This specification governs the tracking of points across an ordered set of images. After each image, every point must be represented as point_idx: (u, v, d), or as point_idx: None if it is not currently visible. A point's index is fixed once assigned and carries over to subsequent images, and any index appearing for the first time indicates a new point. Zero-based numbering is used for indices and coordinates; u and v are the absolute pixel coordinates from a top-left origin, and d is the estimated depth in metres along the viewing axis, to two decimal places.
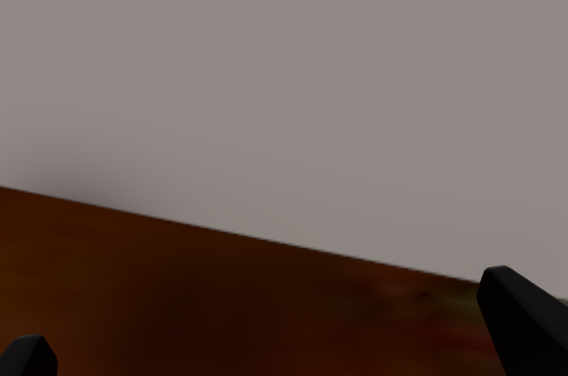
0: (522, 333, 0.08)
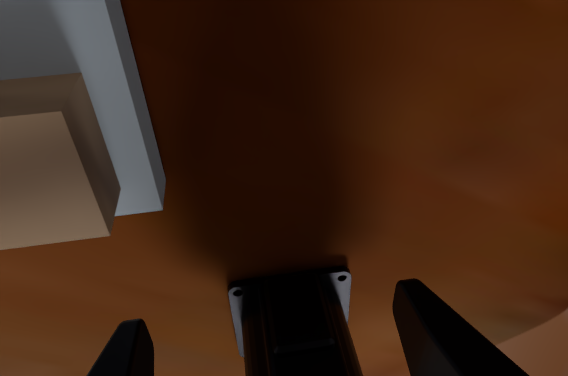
0: (423, 349, 0.08)
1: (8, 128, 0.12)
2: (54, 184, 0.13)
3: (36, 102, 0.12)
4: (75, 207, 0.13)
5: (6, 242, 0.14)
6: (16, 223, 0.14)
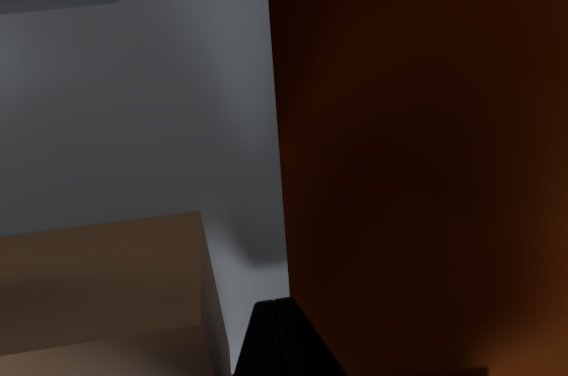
0: None
1: (103, 353, 0.06)
2: None
3: (147, 294, 0.07)
4: None
5: None
6: None
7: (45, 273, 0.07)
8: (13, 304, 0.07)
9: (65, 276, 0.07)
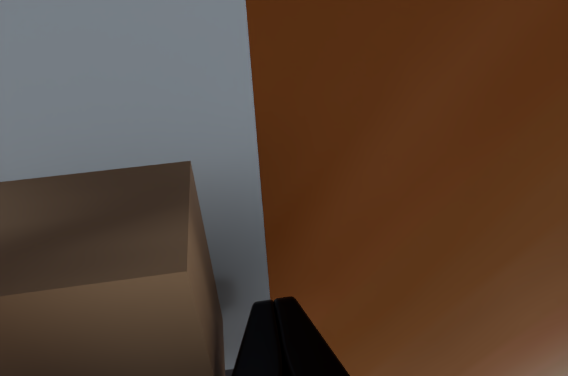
0: (284, 372, 0.08)
1: None
2: (30, 340, 0.06)
3: None
4: (98, 316, 0.06)
5: None
6: None
7: None
8: None
9: None
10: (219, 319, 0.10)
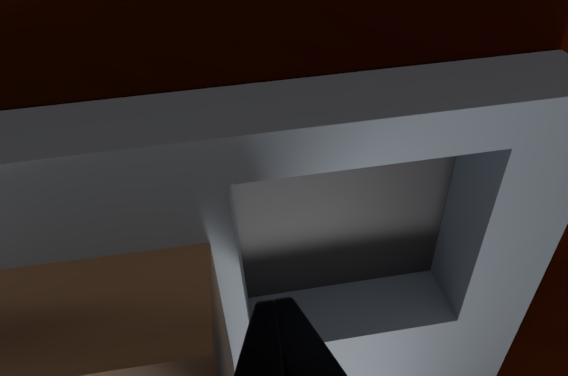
0: None
1: None
2: None
3: (162, 324, 0.07)
4: None
5: None
6: None
7: (67, 303, 0.08)
8: (39, 333, 0.07)
9: (86, 306, 0.08)
10: None
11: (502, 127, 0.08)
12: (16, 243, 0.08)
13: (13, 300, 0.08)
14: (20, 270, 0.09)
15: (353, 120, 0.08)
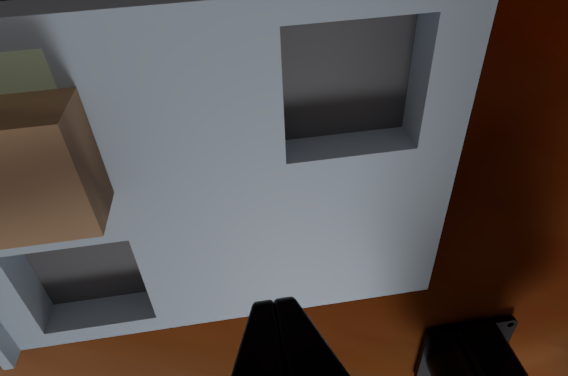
0: (284, 372, 0.08)
1: (10, 139, 0.13)
2: (52, 189, 0.14)
3: (35, 115, 0.13)
4: (71, 211, 0.15)
5: (8, 242, 0.15)
6: (17, 225, 0.15)
7: None
8: None
9: None
10: None
11: None
12: (161, 58, 0.15)
13: None
14: None
15: None
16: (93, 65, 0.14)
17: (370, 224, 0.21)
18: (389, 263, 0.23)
